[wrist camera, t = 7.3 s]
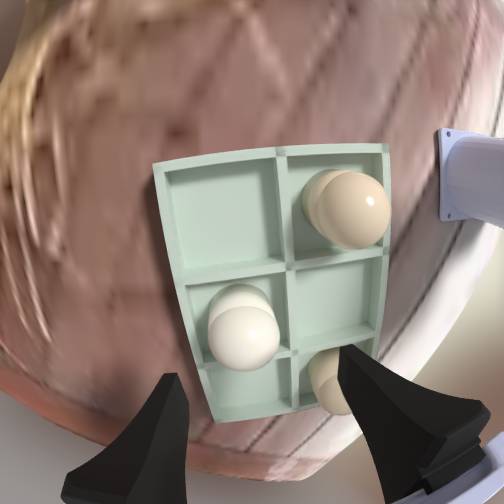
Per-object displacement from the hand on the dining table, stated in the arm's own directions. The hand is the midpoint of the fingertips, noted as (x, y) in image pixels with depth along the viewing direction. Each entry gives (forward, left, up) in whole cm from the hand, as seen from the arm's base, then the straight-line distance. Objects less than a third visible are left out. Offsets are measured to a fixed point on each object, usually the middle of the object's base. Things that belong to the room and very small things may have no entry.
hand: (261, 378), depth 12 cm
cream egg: (+1, +1, -8) cm, 9 cm away
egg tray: (-3, +1, -9) cm, 10 cm away
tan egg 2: (-6, +8, -8) cm, 14 cm away
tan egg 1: (-6, -6, -8) cm, 12 cm away
